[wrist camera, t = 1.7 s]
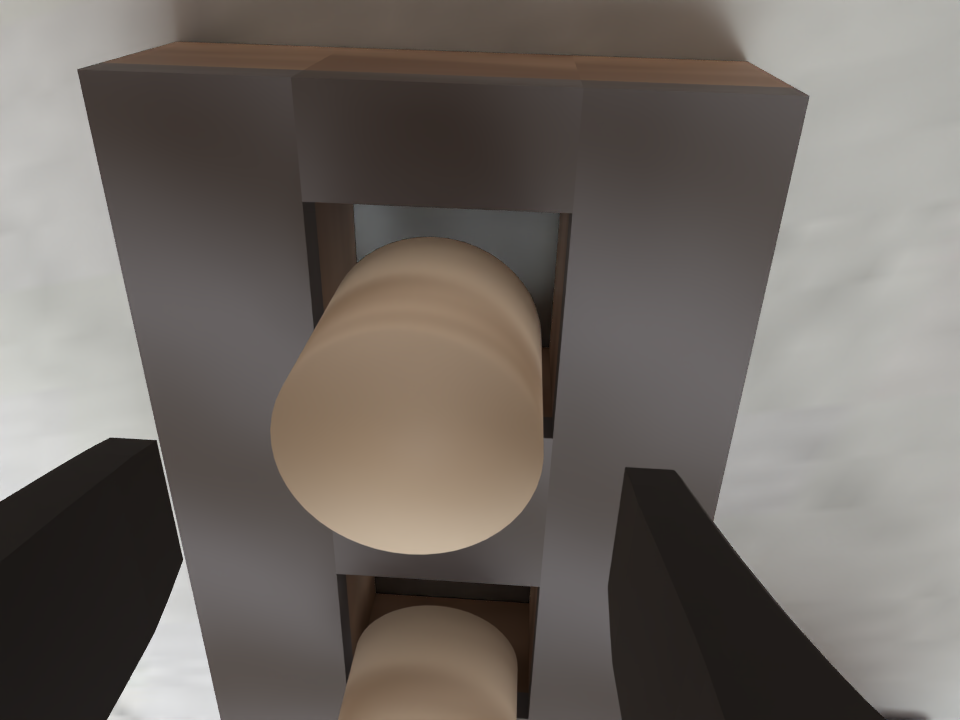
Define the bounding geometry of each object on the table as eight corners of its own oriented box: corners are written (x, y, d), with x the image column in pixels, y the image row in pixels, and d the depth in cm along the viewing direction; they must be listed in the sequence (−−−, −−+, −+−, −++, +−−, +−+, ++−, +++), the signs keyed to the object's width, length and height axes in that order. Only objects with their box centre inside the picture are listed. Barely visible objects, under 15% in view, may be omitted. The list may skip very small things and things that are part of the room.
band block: (637, 657, 24) (655, 777, 21) (269, 632, 25) (226, 745, 21) (747, 61, 16) (809, 96, 12) (176, 41, 16) (77, 69, 13)
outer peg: (534, 432, 15) (535, 562, 12) (336, 421, 15) (284, 546, 12) (548, 241, 13) (553, 336, 10) (320, 231, 13) (254, 321, 10)
